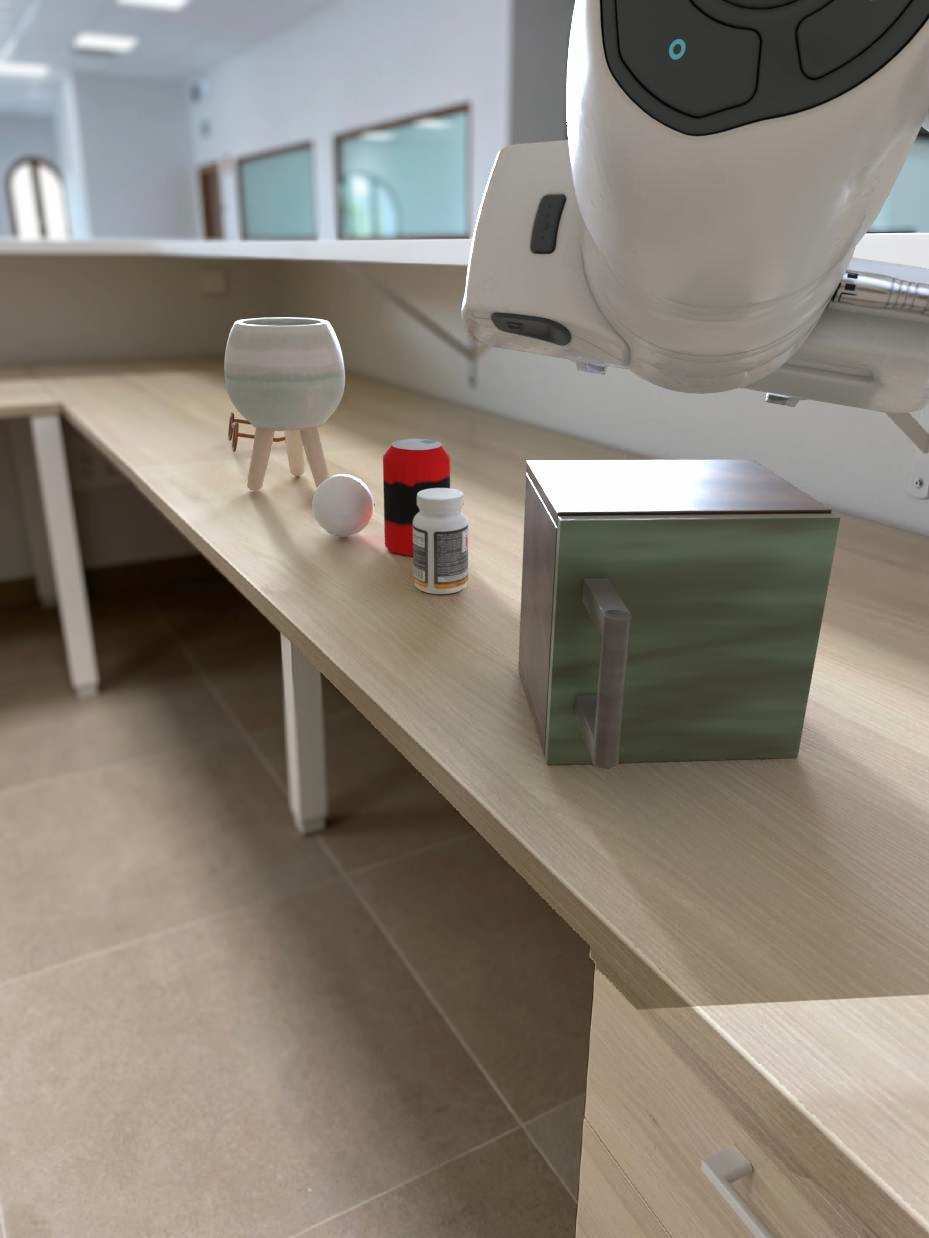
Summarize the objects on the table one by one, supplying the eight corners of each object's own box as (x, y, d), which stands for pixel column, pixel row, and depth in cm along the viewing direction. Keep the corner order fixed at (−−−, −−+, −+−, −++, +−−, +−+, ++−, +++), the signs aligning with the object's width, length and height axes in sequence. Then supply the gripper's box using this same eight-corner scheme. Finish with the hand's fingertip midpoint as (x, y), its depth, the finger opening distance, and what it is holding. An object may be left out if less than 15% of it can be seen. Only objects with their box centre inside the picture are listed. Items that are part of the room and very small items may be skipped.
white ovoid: (383, 540, 110) (381, 480, 107) (321, 547, 107) (318, 485, 105) (360, 517, 119) (358, 460, 116) (302, 523, 116) (299, 465, 113)
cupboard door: (840, 813, 60) (894, 552, 53) (564, 823, 58) (582, 556, 51) (792, 750, 67) (833, 513, 60) (544, 757, 65) (557, 515, 58)
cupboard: (790, 750, 67) (832, 509, 60) (543, 757, 66) (557, 512, 59) (725, 665, 80) (753, 459, 73) (518, 670, 78) (526, 460, 71)
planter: (299, 466, 143) (291, 314, 134) (372, 484, 133) (367, 322, 125) (211, 485, 132) (195, 321, 123) (283, 507, 122) (271, 330, 113)
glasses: (227, 439, 160) (225, 410, 158) (303, 435, 164) (302, 407, 162) (233, 456, 148) (231, 425, 146) (315, 452, 152) (313, 421, 150)
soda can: (463, 545, 109) (464, 444, 104) (419, 561, 103) (418, 455, 99) (415, 532, 113) (415, 434, 108) (371, 547, 108) (368, 444, 103)
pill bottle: (472, 578, 99) (473, 487, 95) (462, 598, 93) (463, 502, 89) (419, 575, 99) (419, 484, 96) (407, 594, 94) (406, 499, 90)
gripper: (1040, 213, 31) (916, 345, 45) (459, 140, 35) (507, 282, 49) (998, 396, 31) (888, 472, 45) (422, 303, 35) (481, 400, 49)
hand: (687, 373), depth 47 cm, fingers open, 8 cm apart
